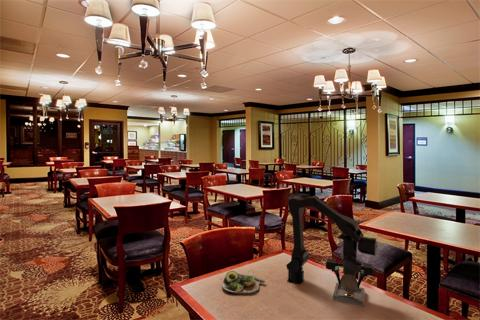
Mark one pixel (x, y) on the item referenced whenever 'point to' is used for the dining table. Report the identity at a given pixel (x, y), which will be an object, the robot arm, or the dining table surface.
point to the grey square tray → (349, 296)
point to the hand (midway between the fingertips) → (348, 286)
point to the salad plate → (240, 283)
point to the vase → (349, 283)
